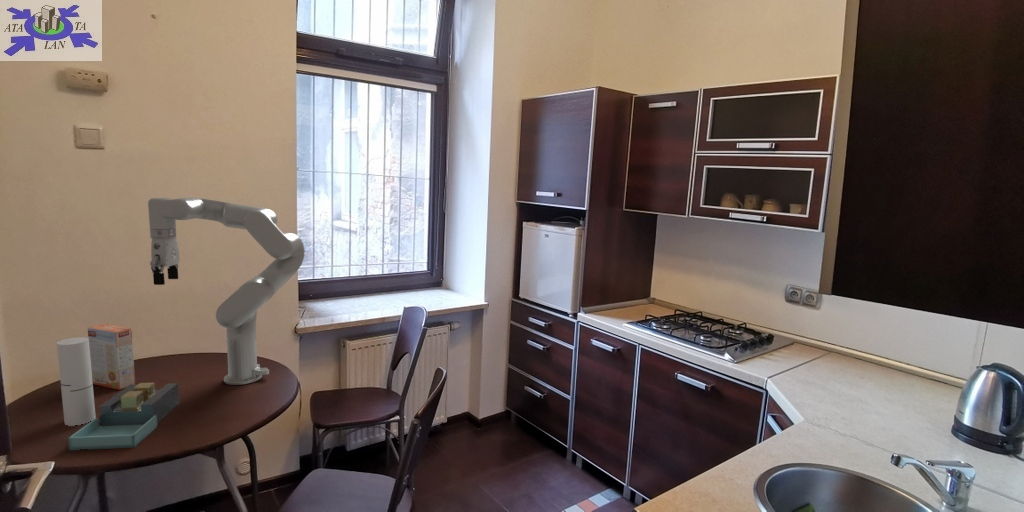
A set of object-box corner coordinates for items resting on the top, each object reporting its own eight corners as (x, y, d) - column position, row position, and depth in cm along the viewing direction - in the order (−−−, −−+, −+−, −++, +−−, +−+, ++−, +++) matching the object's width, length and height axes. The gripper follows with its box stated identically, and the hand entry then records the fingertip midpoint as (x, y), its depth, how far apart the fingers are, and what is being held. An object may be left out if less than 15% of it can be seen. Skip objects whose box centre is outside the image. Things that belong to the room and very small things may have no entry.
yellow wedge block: (155, 394, 162) (154, 382, 161) (148, 399, 158) (147, 387, 157) (141, 394, 161) (140, 382, 160) (134, 400, 157) (133, 388, 156)
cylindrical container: (76, 415, 157) (69, 337, 153) (101, 415, 157) (94, 337, 154) (58, 426, 150) (50, 344, 146) (84, 426, 150) (76, 344, 147)
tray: (157, 426, 151) (156, 415, 151) (134, 447, 140) (133, 435, 139) (97, 428, 149) (96, 417, 148) (69, 450, 137) (67, 438, 137)
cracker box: (136, 384, 180) (132, 327, 177) (118, 390, 175) (114, 332, 172) (109, 378, 185) (105, 322, 182) (91, 384, 179) (86, 327, 176)
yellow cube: (144, 403, 155) (143, 391, 155) (136, 409, 151) (135, 396, 151) (129, 403, 154) (128, 391, 154) (121, 409, 151) (120, 396, 150)
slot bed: (179, 403, 167) (178, 383, 166) (153, 426, 151) (152, 404, 150) (132, 404, 165) (130, 384, 164) (101, 428, 149) (99, 406, 148)
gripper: (162, 236, 169) (165, 286, 171) (186, 231, 186) (189, 277, 188) (137, 236, 168) (141, 286, 170) (164, 230, 185) (167, 277, 187)
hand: (166, 281), depth 179 cm, fingers open, 9 cm apart
